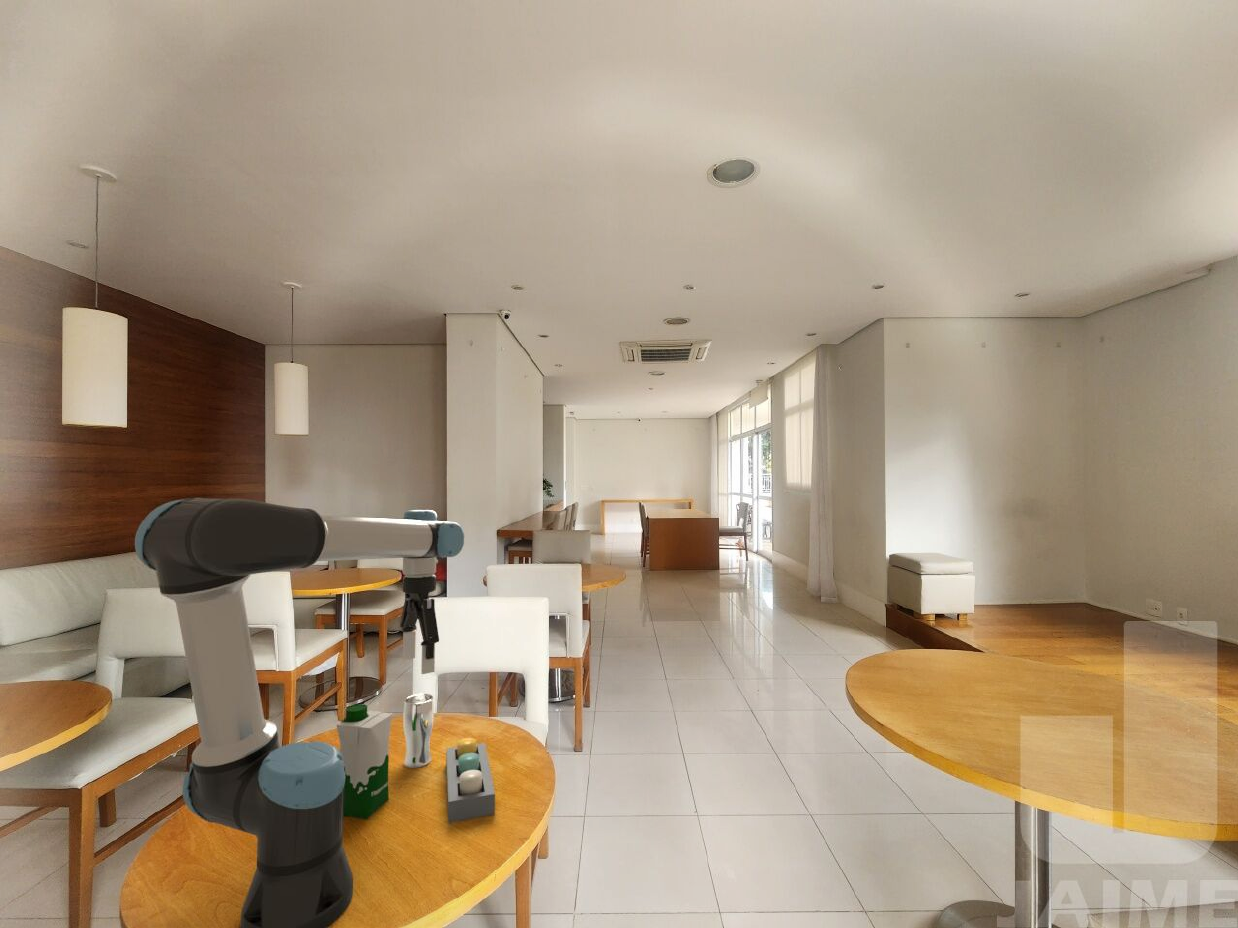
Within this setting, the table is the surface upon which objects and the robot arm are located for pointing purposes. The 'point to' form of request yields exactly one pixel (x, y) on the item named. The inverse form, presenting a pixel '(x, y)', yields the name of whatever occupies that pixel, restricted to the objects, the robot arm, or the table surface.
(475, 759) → the button teal
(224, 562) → the robot arm
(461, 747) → the button amber
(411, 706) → the beer glass
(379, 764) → the milk carton
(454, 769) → the console
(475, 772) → the button ivory
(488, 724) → the table surface
